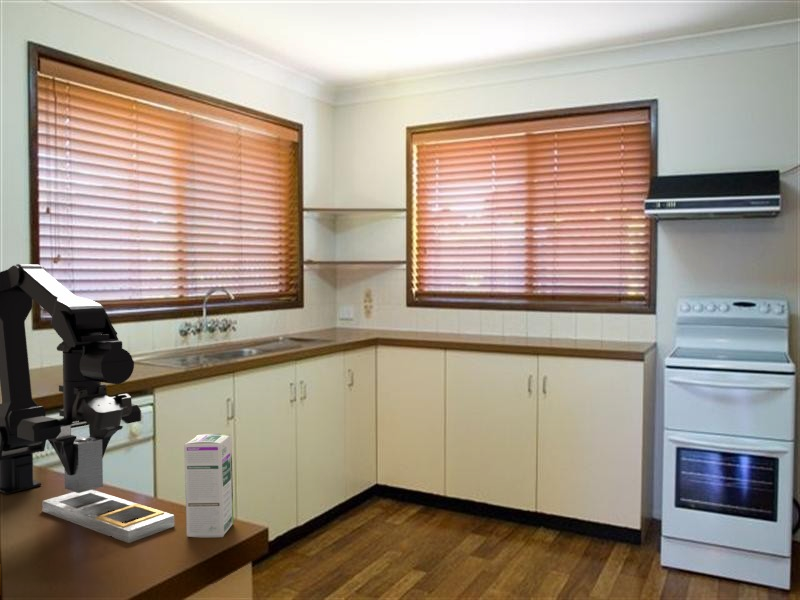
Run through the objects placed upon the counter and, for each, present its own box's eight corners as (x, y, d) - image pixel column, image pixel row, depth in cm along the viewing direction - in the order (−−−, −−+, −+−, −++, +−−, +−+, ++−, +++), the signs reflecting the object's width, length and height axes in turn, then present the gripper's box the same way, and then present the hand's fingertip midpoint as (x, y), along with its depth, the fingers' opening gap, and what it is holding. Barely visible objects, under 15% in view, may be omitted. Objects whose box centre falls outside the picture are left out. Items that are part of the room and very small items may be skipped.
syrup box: (223, 537, 99) (222, 442, 99) (184, 537, 100) (183, 442, 99) (234, 523, 105) (233, 433, 105) (197, 523, 105) (196, 433, 105)
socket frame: (42, 511, 111) (42, 499, 111) (87, 498, 117) (87, 487, 117) (128, 543, 97) (128, 529, 97) (174, 526, 104) (174, 513, 104)
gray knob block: (64, 488, 110) (64, 439, 110) (88, 482, 114) (88, 434, 114) (78, 493, 108) (78, 443, 108) (102, 486, 111) (102, 438, 111)
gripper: (52, 391, 98) (54, 495, 99) (160, 376, 114) (161, 466, 114) (14, 384, 104) (16, 482, 105) (121, 371, 120) (123, 456, 120)
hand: (83, 471), depth 111 cm, fingers closed on gray knob block, 4 cm apart
